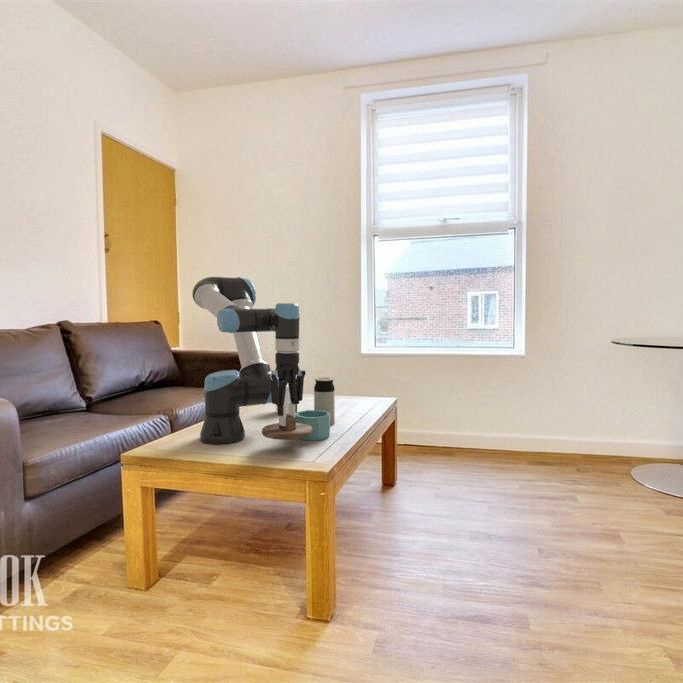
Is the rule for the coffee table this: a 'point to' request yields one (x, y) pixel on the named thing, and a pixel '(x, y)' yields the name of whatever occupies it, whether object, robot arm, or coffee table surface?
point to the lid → (287, 430)
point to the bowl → (315, 423)
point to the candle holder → (286, 399)
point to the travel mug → (325, 396)
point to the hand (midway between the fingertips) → (287, 424)
